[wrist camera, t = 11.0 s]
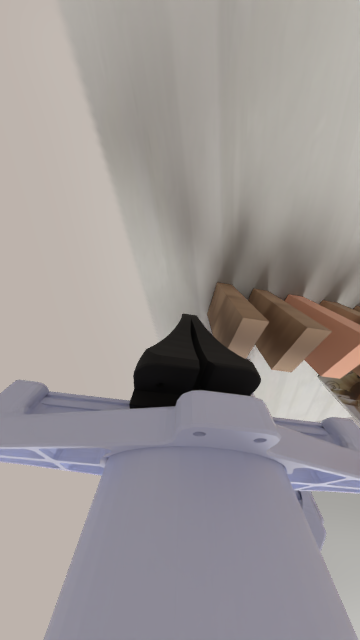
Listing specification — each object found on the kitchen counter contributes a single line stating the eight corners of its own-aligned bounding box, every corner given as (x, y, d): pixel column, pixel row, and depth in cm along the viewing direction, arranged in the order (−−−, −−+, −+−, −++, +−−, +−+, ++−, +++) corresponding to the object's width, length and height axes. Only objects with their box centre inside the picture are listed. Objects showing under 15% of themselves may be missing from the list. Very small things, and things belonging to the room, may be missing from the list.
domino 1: (219, 316, 20) (241, 365, 12) (207, 314, 20) (220, 362, 12) (231, 284, 17) (269, 321, 9) (217, 282, 17) (243, 317, 9)
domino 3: (281, 326, 20) (339, 378, 13) (269, 324, 20) (320, 376, 12) (302, 296, 17) (392, 340, 10) (288, 294, 17) (368, 337, 10)
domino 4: (311, 330, 20) (385, 385, 13) (299, 328, 20) (367, 382, 13) (336, 302, 18) (449, 349, 10) (323, 300, 18) (426, 346, 10)
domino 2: (251, 321, 20) (291, 372, 12) (238, 319, 20) (271, 369, 12) (267, 290, 17) (332, 331, 10) (253, 288, 17) (307, 327, 10)
